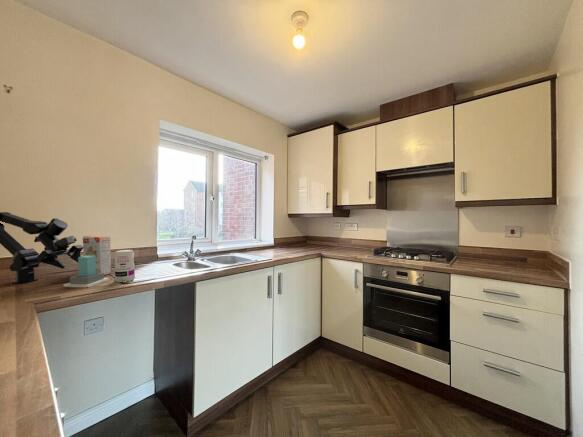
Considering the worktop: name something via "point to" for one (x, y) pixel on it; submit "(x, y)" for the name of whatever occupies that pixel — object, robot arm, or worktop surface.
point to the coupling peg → (86, 266)
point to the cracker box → (98, 252)
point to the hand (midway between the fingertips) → (73, 265)
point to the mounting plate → (86, 280)
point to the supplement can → (124, 265)
